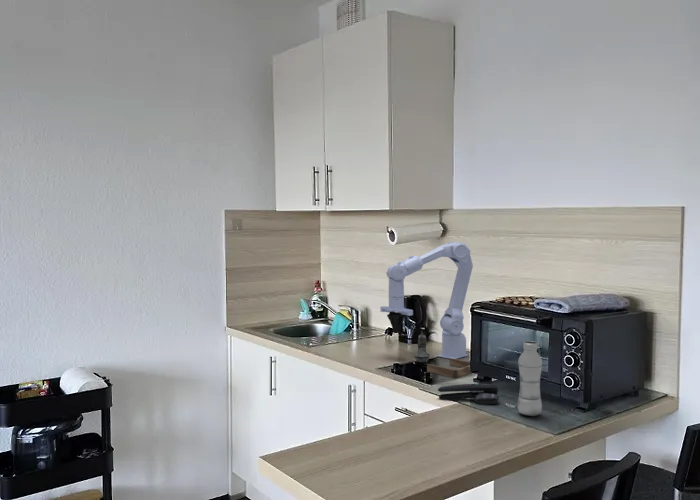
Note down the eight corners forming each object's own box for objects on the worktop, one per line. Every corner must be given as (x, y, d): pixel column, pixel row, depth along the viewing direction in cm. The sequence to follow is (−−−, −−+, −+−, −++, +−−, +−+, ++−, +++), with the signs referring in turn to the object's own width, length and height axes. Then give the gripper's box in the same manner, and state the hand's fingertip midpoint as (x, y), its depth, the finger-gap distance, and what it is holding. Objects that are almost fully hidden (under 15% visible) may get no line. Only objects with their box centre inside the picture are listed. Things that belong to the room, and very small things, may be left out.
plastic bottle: (518, 418, 169) (519, 344, 168) (515, 410, 176) (516, 339, 175) (543, 419, 168) (544, 345, 167) (539, 411, 175) (540, 340, 174)
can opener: (499, 399, 187) (499, 381, 186) (498, 406, 180) (498, 387, 180) (439, 395, 191) (439, 377, 191) (436, 402, 184) (436, 383, 184)
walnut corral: (451, 364, 229) (451, 358, 229) (479, 370, 220) (479, 363, 220) (427, 371, 219) (427, 364, 219) (455, 378, 211) (455, 370, 210)
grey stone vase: (411, 365, 229) (411, 332, 228) (417, 362, 234) (417, 330, 233) (426, 367, 226) (426, 334, 225) (432, 363, 231) (432, 331, 230)
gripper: (374, 296, 239) (375, 331, 239) (404, 299, 228) (404, 336, 229) (387, 294, 244) (387, 329, 244) (416, 297, 233) (416, 333, 234)
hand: (396, 332), depth 237 cm, fingers closed
